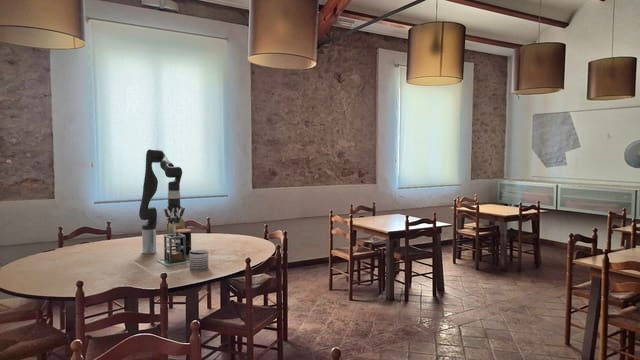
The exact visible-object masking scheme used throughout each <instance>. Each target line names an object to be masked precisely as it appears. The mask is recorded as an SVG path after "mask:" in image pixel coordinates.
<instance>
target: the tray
mask: <svg viewBox="0 0 640 360" xmlns="http://www.w3.org/2000/svg"><path fill="white" fill-rule="evenodd" d="M186 260H187V261H185V262H179V263H173V264H168V263H166V262H165V261H164V258H161V259H156V261H157V262H158V263H159V264H161V265H163V266H165V267H169V266H176V265H182V264H188V263H189V264H190V257H187V256H186Z"/></svg>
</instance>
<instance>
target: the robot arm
mask: <svg viewBox="0 0 640 360" xmlns="http://www.w3.org/2000/svg"><path fill="white" fill-rule="evenodd" d="M153 163H154V164H155V163H157V164H159V165H160V166H159V167H160V169H162V170H163V172H164V175H165V177H166V178H169V179H171V178H172V179H173V178H174V179H173V180H171V181H168V184H167V188H168V191H167V208H163V213H164V215H165V217H166V218H167V219H169V223H170V224H173V222H172V217H173V216H174V213H176V216H177V223H179V222H180V217H181V218H182V217H183V215H184V214H185V209H186V208H185V207H183V206H181V192H180V183H181V180H182V176H183V170H182V168H181V166H175V165H174V163H173V162H171V161H170V160H169V159H168V157H167V155H166V154H165V152H164V151H163V150H161V149H154V148H153V149H152V148H149V149H147V151H146V155H145V171H144V178H143V187H142V195H141V202H140V205H139V206H140V207H139V210H138V214H139V215H138V216H139V218H140V220H142V221H146V222H145V223H143V225H141V234H142V237H141V238H142V240H141V241H142V244H141V245H142V254H145V255H147V254H148V255H150V254H155V253H157V224H158V211H157V210H158V209H156V206H153V205H151V206H150V203H151V200H152V199H153V197H154V196H155V194H156V193H157V191H158V183H159V181H158V178H157V175H156V174H155V172H154V169H153ZM169 223H168V224H169Z"/></svg>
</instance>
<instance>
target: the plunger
mask: <svg viewBox="0 0 640 360" xmlns="http://www.w3.org/2000/svg"><path fill="white" fill-rule="evenodd" d="M176 221H177V217H173V216H172V222H174V237H176V231H175V222H176ZM179 242H180V240H176V239H174V240H172V244H175V243H179Z"/></svg>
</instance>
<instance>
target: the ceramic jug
mask: <svg viewBox="0 0 640 360" xmlns="http://www.w3.org/2000/svg"><path fill="white" fill-rule="evenodd" d="M172 217H177V216H176V213H173V216H172ZM178 229H188V227H187V224H186V222H185V220H184V219H183V218H182V216H181V217H180V222H179V223H177V221H176V222H175V230H178ZM170 234H174V222H173V224H170V223H168V226H167V235H170ZM169 237H174V236H169ZM172 240H174V239H172Z"/></svg>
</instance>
